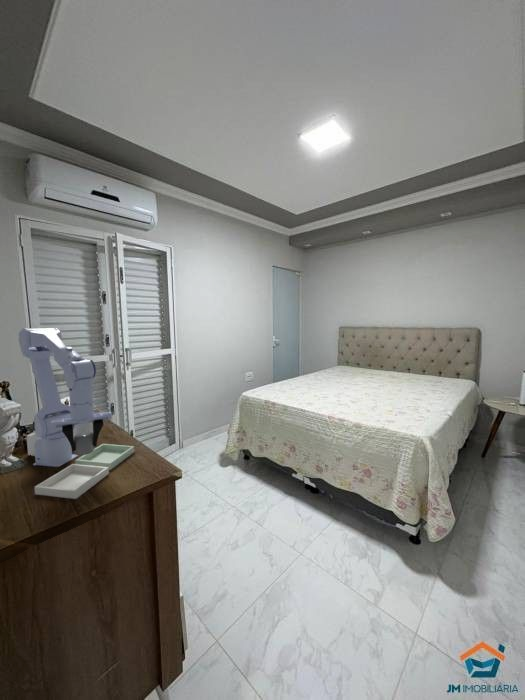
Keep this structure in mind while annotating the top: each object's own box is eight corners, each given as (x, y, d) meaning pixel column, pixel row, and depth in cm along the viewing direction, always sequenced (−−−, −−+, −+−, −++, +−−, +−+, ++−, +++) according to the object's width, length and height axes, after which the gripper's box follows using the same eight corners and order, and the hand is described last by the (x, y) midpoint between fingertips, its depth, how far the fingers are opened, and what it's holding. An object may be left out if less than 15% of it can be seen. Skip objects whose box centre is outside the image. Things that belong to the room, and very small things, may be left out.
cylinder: (71, 454, 79) (70, 437, 79) (84, 447, 84) (83, 431, 83) (84, 456, 78) (83, 439, 78) (97, 449, 83) (96, 432, 82)
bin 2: (75, 468, 86) (75, 460, 86) (103, 450, 98) (103, 443, 98) (110, 471, 84) (110, 463, 84) (134, 453, 96) (134, 446, 96)
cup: (66, 440, 106) (64, 410, 105) (86, 433, 113) (84, 404, 112) (80, 444, 103) (78, 413, 102) (100, 436, 110) (98, 407, 109)
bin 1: (35, 496, 72) (34, 486, 72) (73, 471, 84) (72, 463, 84) (75, 501, 70) (75, 491, 70) (108, 475, 82) (108, 467, 82)
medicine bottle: (44, 457, 93) (42, 423, 91) (27, 455, 94) (24, 421, 93) (64, 448, 100) (61, 416, 98) (47, 446, 101) (45, 414, 100)
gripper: (49, 410, 72) (52, 459, 73) (112, 401, 80) (114, 446, 82) (50, 403, 78) (53, 449, 79) (109, 396, 86) (111, 437, 88)
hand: (84, 447), depth 81 cm, fingers closed on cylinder, 5 cm apart
